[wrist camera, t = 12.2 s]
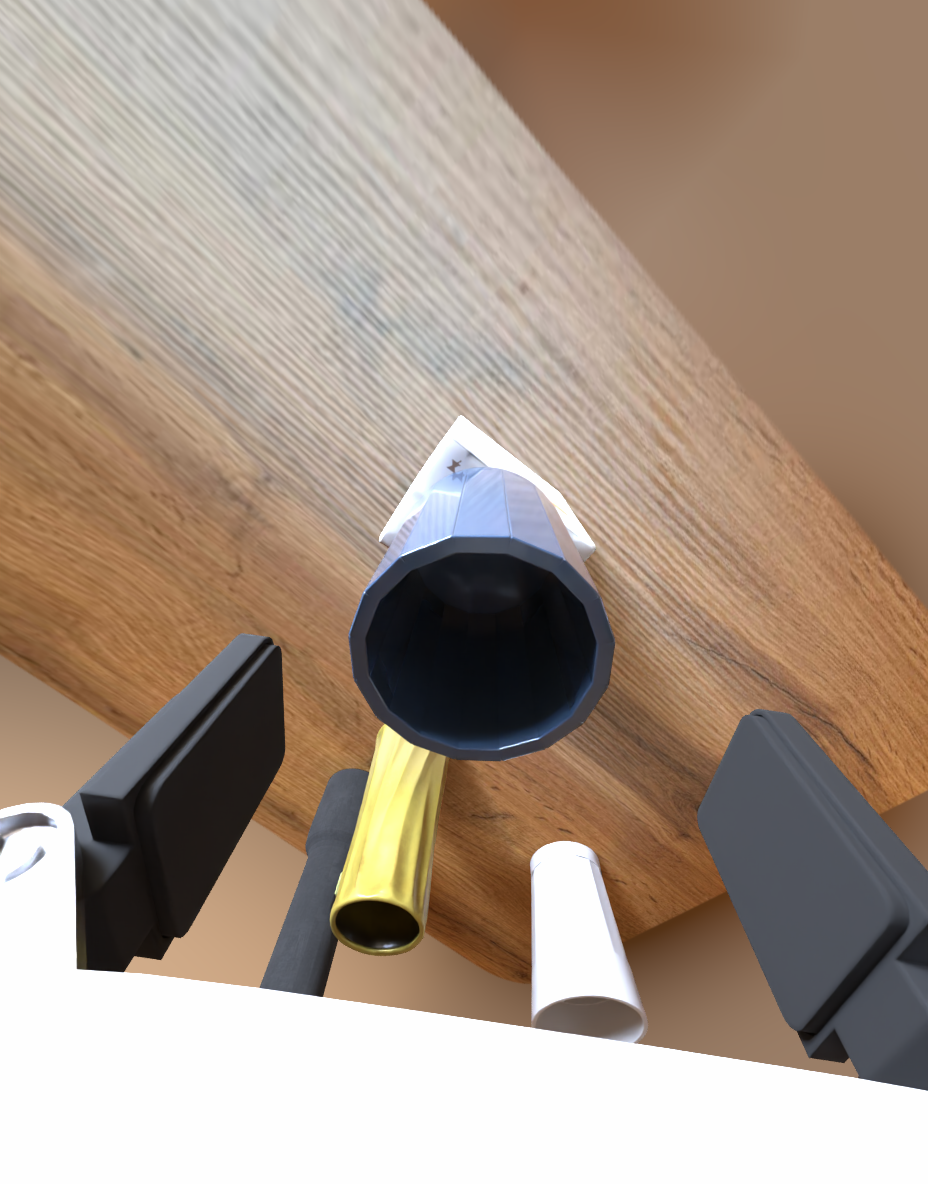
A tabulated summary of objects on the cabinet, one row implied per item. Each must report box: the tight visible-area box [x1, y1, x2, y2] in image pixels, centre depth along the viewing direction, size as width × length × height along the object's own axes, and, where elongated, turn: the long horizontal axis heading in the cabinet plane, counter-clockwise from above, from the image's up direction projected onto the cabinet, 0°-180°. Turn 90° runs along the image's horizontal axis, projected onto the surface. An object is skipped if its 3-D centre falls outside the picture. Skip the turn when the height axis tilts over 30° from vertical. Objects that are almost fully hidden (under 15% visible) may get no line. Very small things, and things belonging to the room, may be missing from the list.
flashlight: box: [260, 769, 369, 997], centre depth 30 cm, size 5×24×5 cm
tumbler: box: [348, 467, 615, 761], centre depth 16 cm, size 7×7×9 cm
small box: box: [379, 416, 596, 562], centre depth 25 cm, size 8×6×10 cm
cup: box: [530, 842, 648, 1044], centre depth 38 cm, size 8×8×12 cm
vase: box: [330, 724, 449, 956], centre depth 32 cm, size 6×6×14 cm
